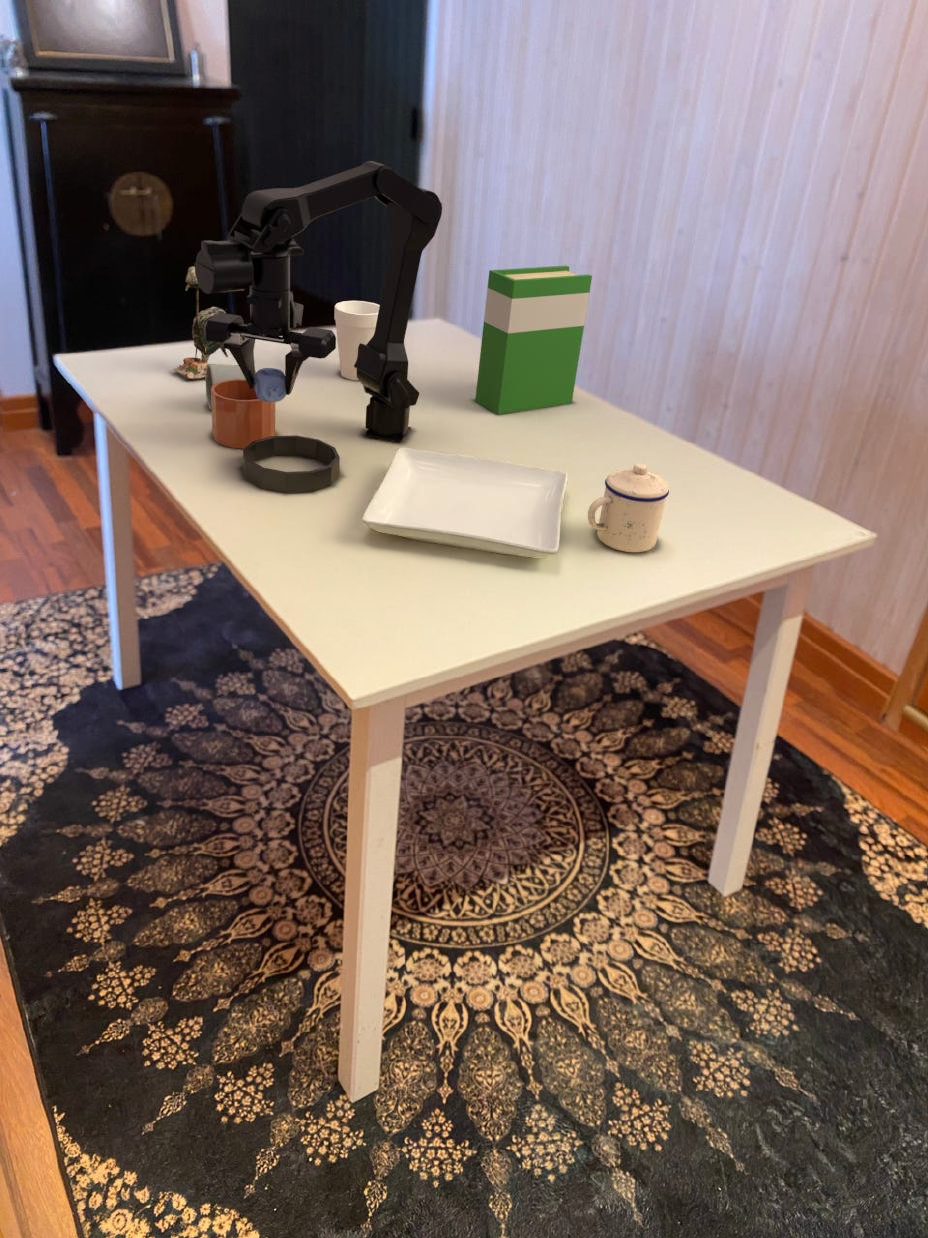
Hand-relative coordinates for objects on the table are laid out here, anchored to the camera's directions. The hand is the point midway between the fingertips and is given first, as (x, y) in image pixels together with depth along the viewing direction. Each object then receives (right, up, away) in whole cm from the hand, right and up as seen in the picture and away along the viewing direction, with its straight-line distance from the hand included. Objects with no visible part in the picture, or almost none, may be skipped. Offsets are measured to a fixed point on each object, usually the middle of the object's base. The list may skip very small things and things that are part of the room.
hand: (270, 390), depth 154 cm
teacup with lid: (+52, -24, -7) cm, 57 cm away
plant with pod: (-19, +11, +35) cm, 42 cm away
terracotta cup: (-7, -5, +12) cm, 14 cm away
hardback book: (+41, +6, +39) cm, 57 cm away
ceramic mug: (-12, +3, +23) cm, 26 cm away
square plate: (+30, -20, -5) cm, 36 cm away
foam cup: (+9, +13, +43) cm, 45 cm away
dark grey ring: (+3, -12, +2) cm, 13 cm away
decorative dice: (0, -1, +1) cm, 1 cm away
